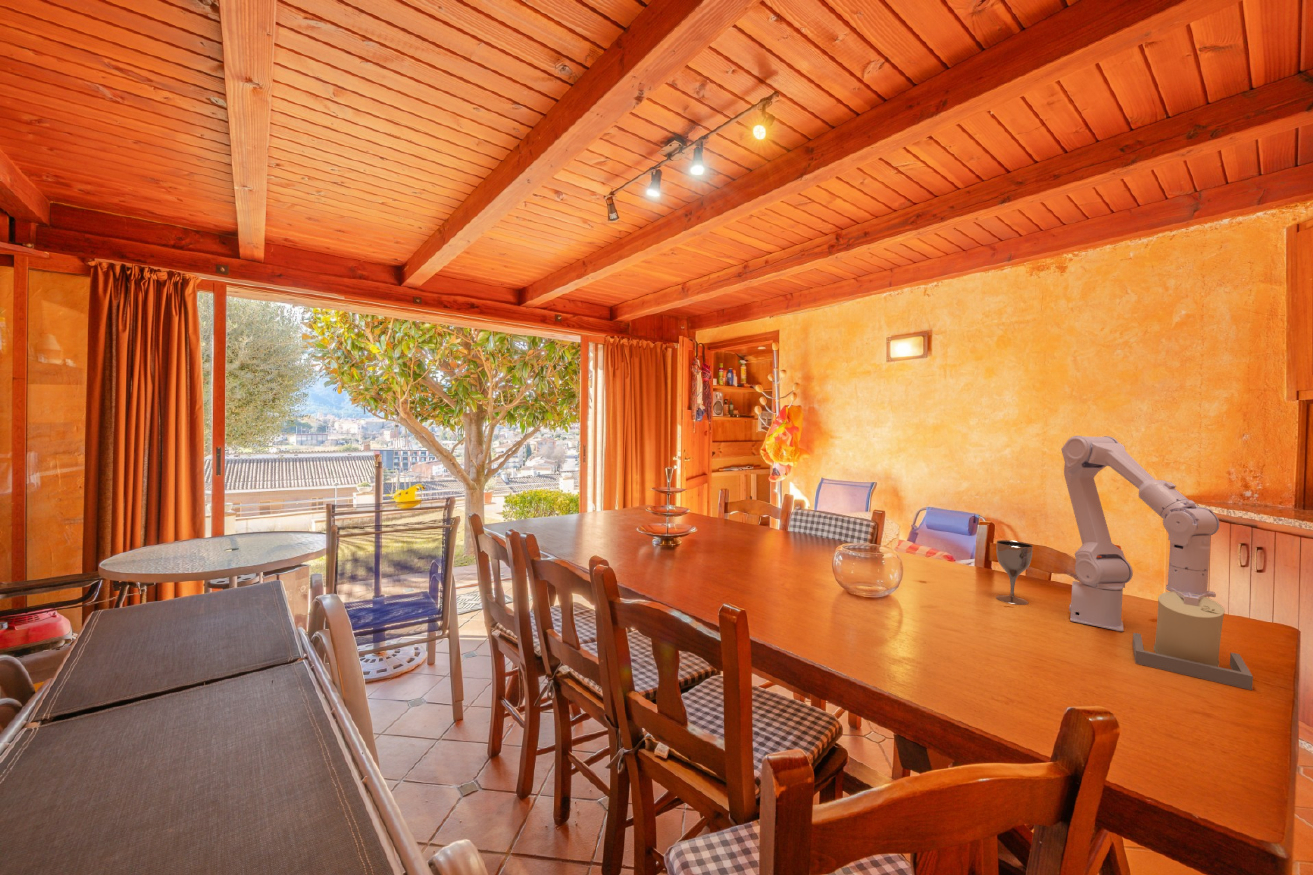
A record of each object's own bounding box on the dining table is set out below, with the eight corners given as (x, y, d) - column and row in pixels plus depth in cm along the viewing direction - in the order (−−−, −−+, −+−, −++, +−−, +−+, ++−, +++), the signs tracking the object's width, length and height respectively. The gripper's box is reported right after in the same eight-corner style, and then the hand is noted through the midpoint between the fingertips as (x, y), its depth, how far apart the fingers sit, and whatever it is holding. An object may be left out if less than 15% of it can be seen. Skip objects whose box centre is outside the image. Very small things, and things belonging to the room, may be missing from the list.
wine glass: (1031, 607, 135) (1034, 548, 135) (994, 601, 140) (996, 544, 139) (1029, 598, 142) (1031, 542, 142) (993, 593, 146) (996, 538, 146)
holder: (1135, 663, 104) (1135, 650, 104) (1132, 644, 114) (1133, 632, 114) (1251, 690, 95) (1252, 676, 94) (1238, 666, 104) (1239, 654, 104)
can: (1206, 677, 100) (1212, 621, 97) (1144, 653, 108) (1148, 600, 105) (1228, 657, 104) (1234, 602, 101) (1166, 635, 112) (1171, 583, 109)
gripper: (1223, 578, 100) (1218, 650, 101) (1211, 563, 111) (1207, 628, 112) (1170, 571, 105) (1167, 639, 105) (1164, 557, 116) (1160, 619, 116)
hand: (1184, 633), depth 109 cm, fingers closed
